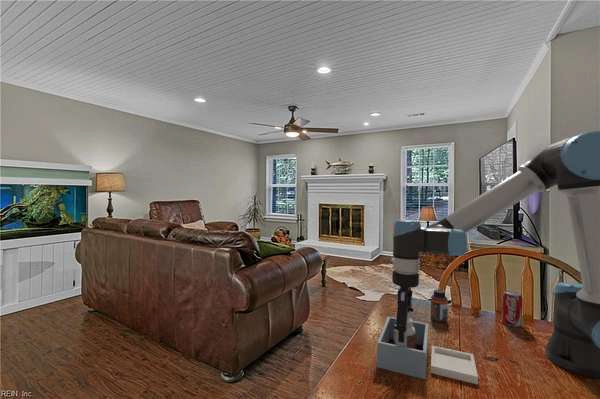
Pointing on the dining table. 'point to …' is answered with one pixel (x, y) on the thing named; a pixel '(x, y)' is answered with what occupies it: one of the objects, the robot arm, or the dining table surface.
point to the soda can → (512, 308)
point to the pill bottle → (408, 334)
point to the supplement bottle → (439, 306)
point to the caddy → (403, 351)
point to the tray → (454, 364)
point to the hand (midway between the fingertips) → (403, 341)
